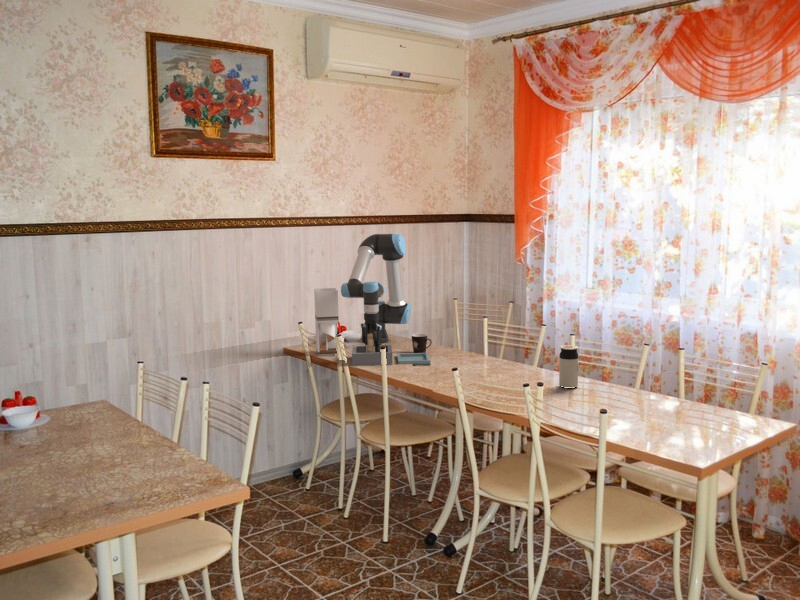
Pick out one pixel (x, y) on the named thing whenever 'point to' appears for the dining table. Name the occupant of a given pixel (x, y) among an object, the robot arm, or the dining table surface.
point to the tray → (413, 358)
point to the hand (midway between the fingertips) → (372, 357)
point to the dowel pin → (370, 342)
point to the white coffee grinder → (326, 320)
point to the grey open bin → (369, 356)
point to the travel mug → (568, 366)
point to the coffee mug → (420, 343)
